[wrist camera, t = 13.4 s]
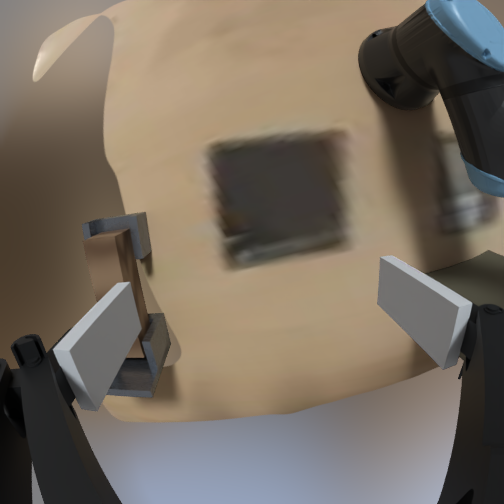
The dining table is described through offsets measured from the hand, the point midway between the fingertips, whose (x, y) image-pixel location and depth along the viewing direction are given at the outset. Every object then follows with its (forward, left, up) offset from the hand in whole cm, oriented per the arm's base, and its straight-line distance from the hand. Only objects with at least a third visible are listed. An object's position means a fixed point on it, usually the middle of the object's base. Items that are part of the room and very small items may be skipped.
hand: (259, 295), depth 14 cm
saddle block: (+1, -19, -29) cm, 34 cm away
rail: (+8, -19, -27) cm, 34 cm away
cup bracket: (+17, -19, -29) cm, 38 cm away
